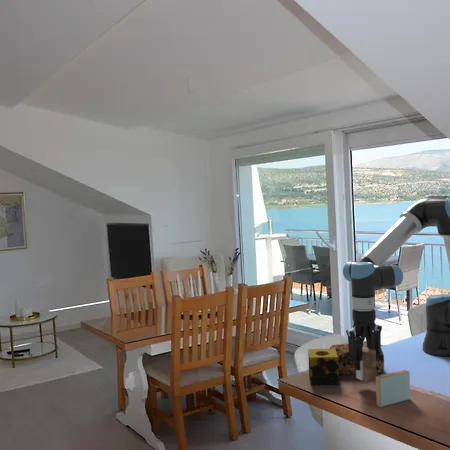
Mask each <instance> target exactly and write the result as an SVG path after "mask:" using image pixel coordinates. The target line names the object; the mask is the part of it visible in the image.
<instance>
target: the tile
mask: <svg viewBox="0 0 450 450" xmlns="http://www.w3.org/2000/svg"><path fill="white" fill-rule="evenodd" d="M410 374H411V372H410V370H407V369H403V370H399V371H394V372H390V373H387V374H386V373H385V374H381V375H376V380H375V394H376V395H375V397H376V398H375V399H376V406H377V407H380V408H381V407H385V406H390V405H393V404H397V403H401V402H405V401H408V400H411V378H410V377H411V376H410Z"/></svg>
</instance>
